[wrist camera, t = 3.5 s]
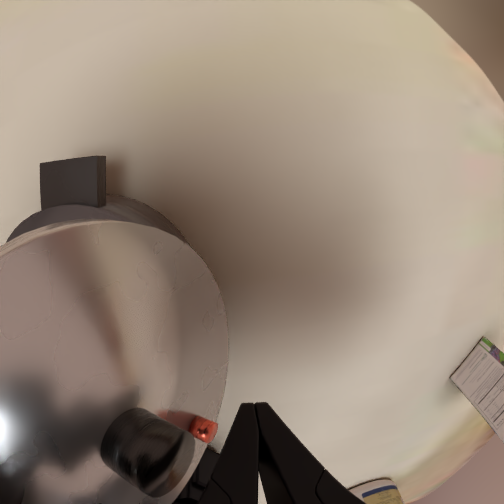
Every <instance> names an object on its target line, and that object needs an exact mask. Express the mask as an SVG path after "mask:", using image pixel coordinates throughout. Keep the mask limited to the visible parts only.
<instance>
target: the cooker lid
mask: <svg viewBox="0 0 504 504" xmlns="http://www.w3.org/2000/svg"><path fill="white" fill-rule="evenodd" d="M228 354H229V338H228V325H227V317H226V312H225V307H224V303H223V299H222V296H221V293H220V290H219V287H218V285H217V283H216V281H215V279H214V277H213V275H212V273H211V271H210V270H209V268H208V267H207V265H206V264H205V262H204V261H203V260H202V258H201V257H200V256H199V255H198V254H197V253H196V252H195V251H194V250H193V249H192V248H191V247H190V246H189V245H187V244H186V243H184V242H183V241H181V240H180V239H178V238H177V237H176V236H174V235H171V234H169V233H167V232H165V231H162V230H160V229H158V228H154V227H150V226H145V225H141V224H136V223H131V222H123V221H116V220H106V219H78V220H71V221H65V222H58V223H53V224H50V225H47V226H44V227H41V228H38V229H35V230H32V231H29V232H26V233H24V234H22V235H20V236H18V237H16V238H14V239H13V240H11V241H9V242H7V243H5V244H4V245H2V246H0V504H172V503H173V502H174V500H175V499H176V498H177V496H178V495H179V494H180V492H181V491H182V490H183V488H184V487H185V485H186V484H187V482H188V480H189V479H190V477H191V476H192V474H193V472H194V470H195V469H196V467H197V465H198V463H199V461H200V459H201V457H202V455H203V453H204V451H205V449H206V447H207V444H208V443H209V442H211V441H212V440H213V438H214V437H215V435H216V432H217V429H218V424H217V423H216V420H217V417H218V414H219V410H220V407H221V403H222V398H223V394H224V389H225V383H226V377H227V368H228Z"/></svg>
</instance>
